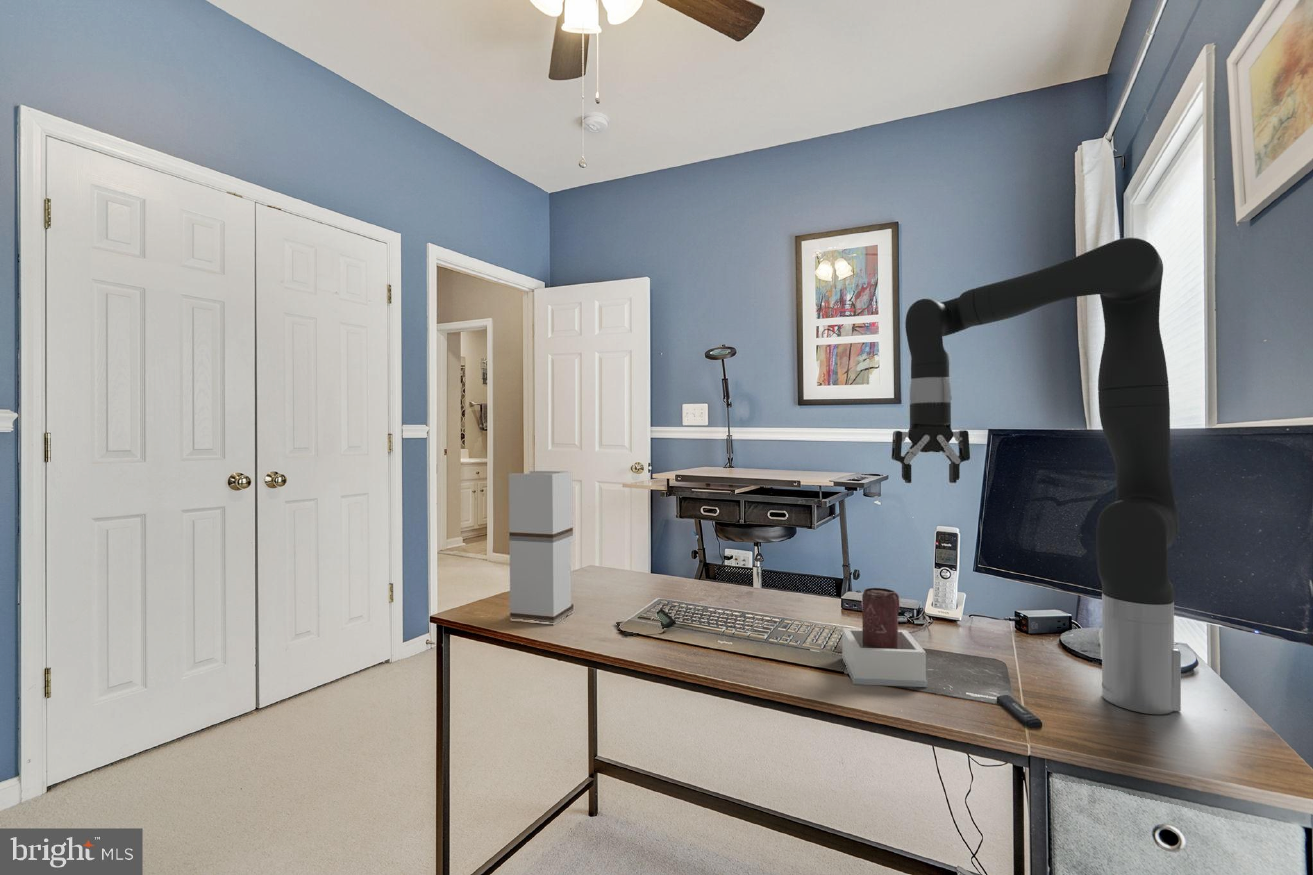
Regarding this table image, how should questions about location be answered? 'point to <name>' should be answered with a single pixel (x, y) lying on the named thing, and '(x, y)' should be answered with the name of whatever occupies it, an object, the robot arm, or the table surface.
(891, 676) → the light grey open box
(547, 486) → the banded grey pillar
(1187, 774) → the table surface
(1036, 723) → the usb stick
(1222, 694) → the table surface
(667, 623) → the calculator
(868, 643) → the can
